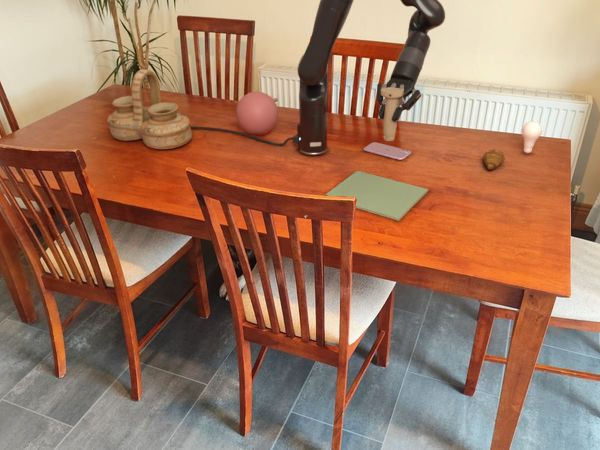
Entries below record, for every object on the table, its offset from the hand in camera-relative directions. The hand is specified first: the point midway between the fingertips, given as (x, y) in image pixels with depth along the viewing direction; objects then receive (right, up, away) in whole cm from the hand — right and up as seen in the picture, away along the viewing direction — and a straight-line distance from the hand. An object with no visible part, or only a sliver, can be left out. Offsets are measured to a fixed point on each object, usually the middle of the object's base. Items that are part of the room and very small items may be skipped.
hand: (387, 119), depth 158 cm
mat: (-3, -22, +3) cm, 22 cm away
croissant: (+37, -11, +19) cm, 43 cm away
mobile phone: (+4, -6, +28) cm, 29 cm away
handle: (+1, -5, +5) cm, 7 cm away
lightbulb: (+51, -7, +26) cm, 57 cm away
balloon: (-39, +4, +47) cm, 61 cm away
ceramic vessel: (-80, +1, +43) cm, 91 cm away
